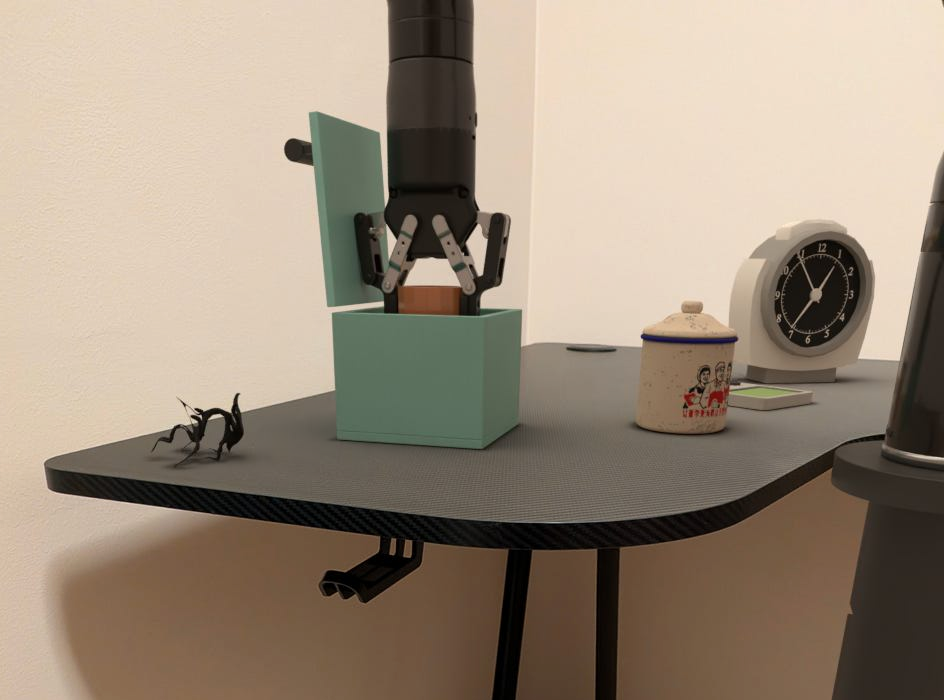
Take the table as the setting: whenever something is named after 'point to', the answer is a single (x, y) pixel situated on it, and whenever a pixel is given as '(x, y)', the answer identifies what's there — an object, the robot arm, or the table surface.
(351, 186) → the lid
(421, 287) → the cup
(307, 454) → the table surface
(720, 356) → the teacup with lid
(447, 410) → the box
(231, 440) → the creature
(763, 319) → the alarm clock
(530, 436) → the table surface
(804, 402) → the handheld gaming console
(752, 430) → the table surface
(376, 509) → the table surface
